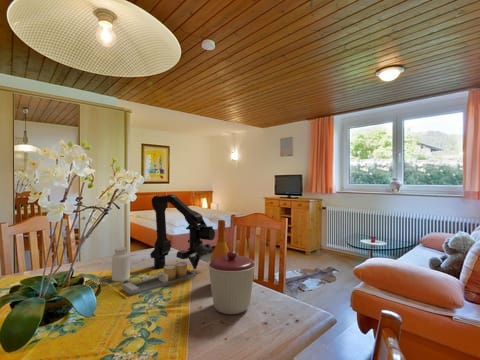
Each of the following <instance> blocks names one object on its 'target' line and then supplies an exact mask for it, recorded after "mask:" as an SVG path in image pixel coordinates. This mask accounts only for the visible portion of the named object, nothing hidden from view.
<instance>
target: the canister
mask: <svg viewBox="0 0 480 360" xmlns="http://www.w3.org/2000/svg"><path fill="white" fill-rule="evenodd" d="M256 266H257V263H256V262H255V261H254V260H253V259H251V258H249V257H247V256H243V255H238V254H237V252H236V251H235V250H229V252H228V253H227V256H220V257H217V258H214V259H213V260H211V259H210V261H208V262H207V267H208V269H209V278H210V280H209V281H210V290H211V297H212V303H213V306H214V308H215V309H216V310H217V311H218V312H219V313H221V314H224V315H238V314H241V313H244V312H245V311H247V309H248V308H249V306H250V304H251V298H252V290H253V284H254V283H253V282H254V274H255V268H256Z"/></svg>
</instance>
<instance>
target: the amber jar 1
mask: <svg viewBox="0 0 480 360" xmlns="http://www.w3.org/2000/svg"><path fill="white" fill-rule="evenodd" d="M163 273H165V274H167V275H168V281H171V280H175V279H176V266H175V264H172V263H171V264H165V266H164V268H163Z"/></svg>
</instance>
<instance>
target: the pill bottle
mask: <svg viewBox="0 0 480 360" xmlns="http://www.w3.org/2000/svg"><path fill="white" fill-rule="evenodd" d="M114 253H115V254H113V255H112V257H111V280H112V281H113V282H124V281H127V280H129V279H130V275H131V255H130V253H128V248H127V247H125V246H122V247H121V246H120V247H116V248H114Z"/></svg>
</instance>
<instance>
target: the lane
mask: <svg viewBox="0 0 480 360" xmlns="http://www.w3.org/2000/svg"><path fill="white" fill-rule="evenodd" d="M195 277H197V273H196V272H195V271H193V270H189V269H187V276H185V277H181V278H178V279H177V278H176V279H175V280H171V281H168V282H165V283H164V282H162V281H160V280H159V278H155V279H152V280H148V281H144V282H141V281H139V282H134V283H132V282H130V281H129V282H124V283H122V291H124V292H125V293H127V294H128V295H129V296H132V297H134V296H136V295H137V296H138V295H141V294H143V293H145V292H150V291H152V290H157V289H160V288H163V287H166V286H169V285H173V284H176V283H178V282H182V281H185V280H189V279H192V278H195Z"/></svg>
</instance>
